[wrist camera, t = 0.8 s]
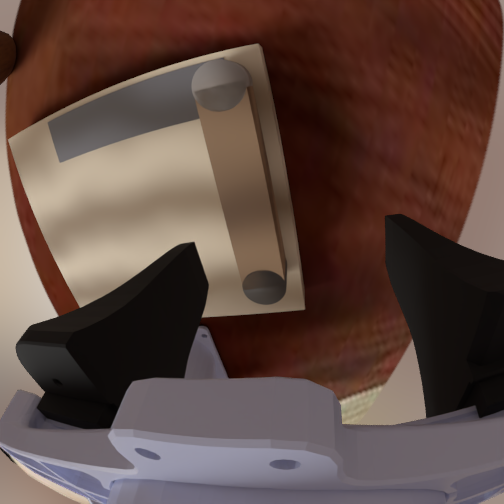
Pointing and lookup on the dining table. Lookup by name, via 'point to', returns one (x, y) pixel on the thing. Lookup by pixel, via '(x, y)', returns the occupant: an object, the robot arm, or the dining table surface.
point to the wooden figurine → (6, 55)
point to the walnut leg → (242, 176)
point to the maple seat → (147, 185)
